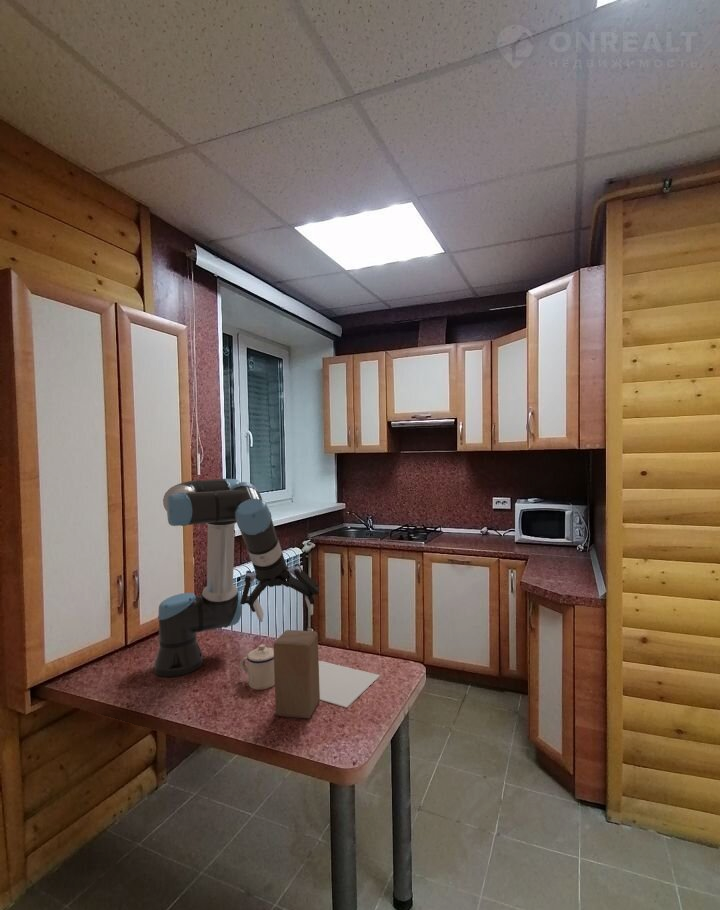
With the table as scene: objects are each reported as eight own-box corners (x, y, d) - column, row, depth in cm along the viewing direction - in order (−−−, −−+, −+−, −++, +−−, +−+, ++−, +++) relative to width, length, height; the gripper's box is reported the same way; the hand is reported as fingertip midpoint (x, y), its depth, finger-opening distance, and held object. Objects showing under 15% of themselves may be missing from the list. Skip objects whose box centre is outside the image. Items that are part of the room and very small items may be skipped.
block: (310, 720, 121) (307, 644, 120) (274, 717, 123) (271, 642, 123) (320, 700, 130) (318, 630, 130) (287, 697, 132) (285, 628, 132)
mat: (279, 688, 138) (278, 687, 138) (317, 660, 155) (317, 660, 155) (346, 708, 126) (346, 707, 126) (380, 676, 143) (380, 675, 143)
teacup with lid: (283, 678, 144) (282, 641, 144) (267, 692, 135) (266, 653, 135) (250, 672, 148) (249, 637, 148) (233, 686, 140) (232, 648, 140)
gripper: (213, 575, 108) (238, 632, 119) (317, 560, 107) (332, 619, 118) (220, 552, 115) (243, 609, 126) (318, 539, 114) (332, 597, 125)
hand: (286, 614), depth 122 cm, fingers open, 13 cm apart
